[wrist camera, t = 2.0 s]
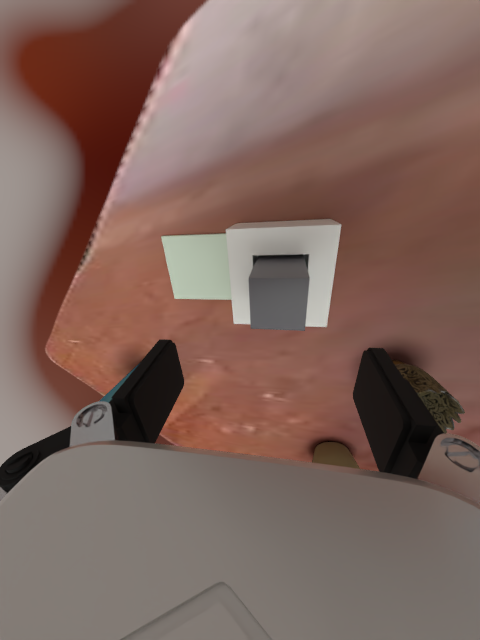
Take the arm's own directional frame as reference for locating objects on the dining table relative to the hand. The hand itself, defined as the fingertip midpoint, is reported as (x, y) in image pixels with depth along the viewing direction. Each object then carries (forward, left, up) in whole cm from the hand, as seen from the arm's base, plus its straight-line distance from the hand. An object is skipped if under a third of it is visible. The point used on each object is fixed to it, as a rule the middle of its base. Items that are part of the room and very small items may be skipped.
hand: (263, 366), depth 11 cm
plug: (-1, 0, -17) cm, 17 cm away
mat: (+9, 0, -18) cm, 20 cm away
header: (-1, 0, -18) cm, 18 cm away
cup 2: (-16, +14, -18) cm, 27 cm away
